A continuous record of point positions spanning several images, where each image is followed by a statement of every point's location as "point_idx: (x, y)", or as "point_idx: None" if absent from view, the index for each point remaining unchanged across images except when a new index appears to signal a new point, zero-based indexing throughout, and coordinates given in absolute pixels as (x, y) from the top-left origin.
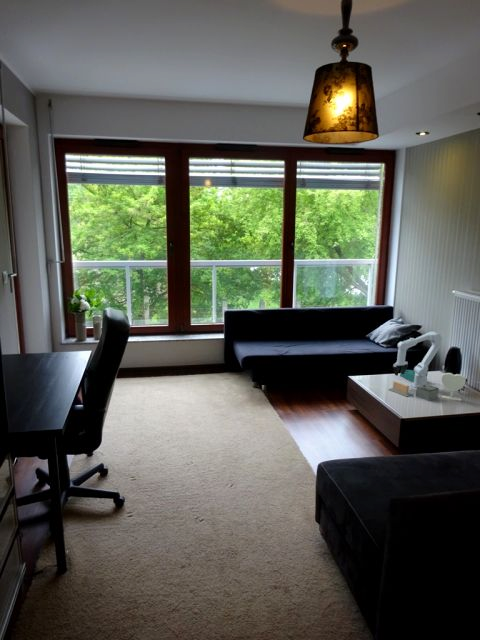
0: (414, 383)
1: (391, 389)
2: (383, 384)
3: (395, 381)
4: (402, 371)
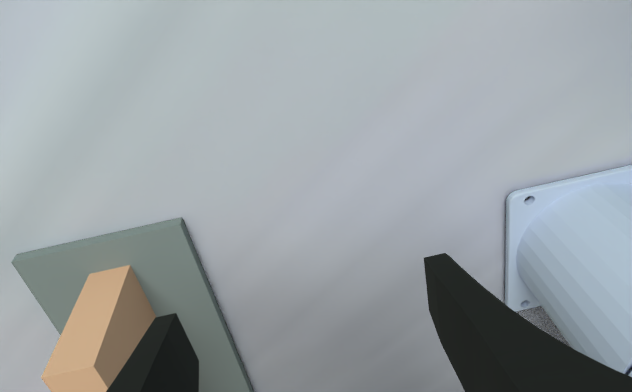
0: (544, 255)
1: (58, 284)
2: (57, 3)
3: (83, 384)
4: (452, 328)
